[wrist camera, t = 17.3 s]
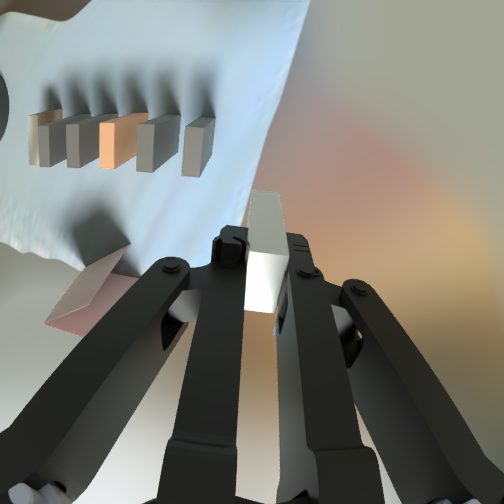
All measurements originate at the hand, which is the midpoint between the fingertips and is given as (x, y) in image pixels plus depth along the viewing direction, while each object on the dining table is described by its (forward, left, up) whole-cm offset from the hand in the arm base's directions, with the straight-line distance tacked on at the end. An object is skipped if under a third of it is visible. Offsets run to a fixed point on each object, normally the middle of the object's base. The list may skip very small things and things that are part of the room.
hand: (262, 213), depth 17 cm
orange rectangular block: (-16, 0, -23) cm, 28 cm away
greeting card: (-22, -21, -23) cm, 38 cm away
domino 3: (-12, 0, -23) cm, 26 cm away
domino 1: (-25, 0, -23) cm, 34 cm away
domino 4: (-7, 0, -23) cm, 24 cm away
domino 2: (-21, 0, -23) cm, 31 cm away
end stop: (-31, 0, -23) cm, 38 cm away
